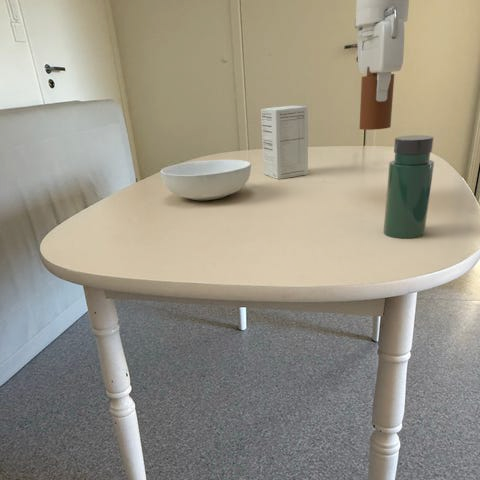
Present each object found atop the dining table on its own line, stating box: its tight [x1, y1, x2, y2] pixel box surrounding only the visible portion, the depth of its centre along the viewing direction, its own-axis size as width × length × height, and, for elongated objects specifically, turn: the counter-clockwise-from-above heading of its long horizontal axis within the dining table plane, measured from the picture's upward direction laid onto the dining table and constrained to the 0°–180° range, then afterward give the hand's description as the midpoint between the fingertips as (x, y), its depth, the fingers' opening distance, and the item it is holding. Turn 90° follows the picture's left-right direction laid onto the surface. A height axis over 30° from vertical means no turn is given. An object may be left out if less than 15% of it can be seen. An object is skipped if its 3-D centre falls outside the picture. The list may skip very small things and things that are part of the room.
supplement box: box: [260, 105, 309, 180], centre depth 118 cm, size 10×9×17 cm
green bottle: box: [382, 134, 435, 239], centre depth 70 cm, size 6×6×14 cm
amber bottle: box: [359, 67, 395, 131], centre depth 84 cm, size 6×6×12 cm
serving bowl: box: [160, 159, 252, 202], centre depth 104 cm, size 21×21×7 cm
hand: (376, 100), depth 84 cm, fingers closed on amber bottle, 6 cm apart
